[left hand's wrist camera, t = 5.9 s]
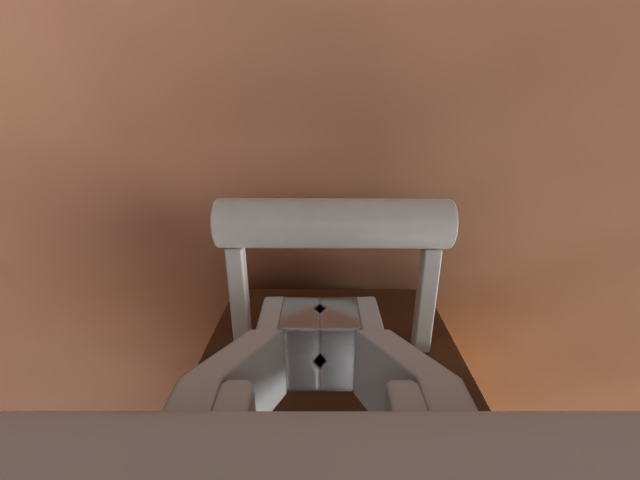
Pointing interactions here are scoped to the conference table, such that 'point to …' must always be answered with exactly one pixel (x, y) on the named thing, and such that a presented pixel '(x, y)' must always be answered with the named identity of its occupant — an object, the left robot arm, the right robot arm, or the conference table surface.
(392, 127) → the conference table surface
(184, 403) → the left robot arm
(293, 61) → the conference table surface
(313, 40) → the conference table surface
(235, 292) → the drawer
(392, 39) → the conference table surface
